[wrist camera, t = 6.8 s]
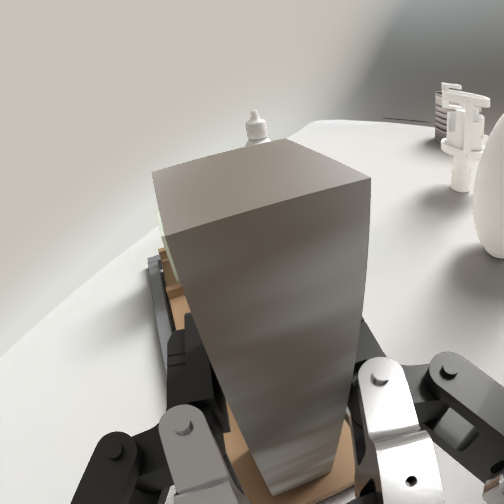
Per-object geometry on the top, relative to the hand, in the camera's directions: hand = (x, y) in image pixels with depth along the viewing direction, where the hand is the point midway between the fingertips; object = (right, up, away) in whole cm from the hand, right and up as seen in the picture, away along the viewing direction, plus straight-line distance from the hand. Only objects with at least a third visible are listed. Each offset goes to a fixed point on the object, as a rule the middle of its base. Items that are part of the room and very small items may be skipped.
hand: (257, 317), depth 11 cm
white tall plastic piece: (+30, +11, +27) cm, 42 cm away
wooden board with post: (-1, -4, +11) cm, 12 cm away
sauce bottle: (+25, +2, +14) cm, 29 cm away
